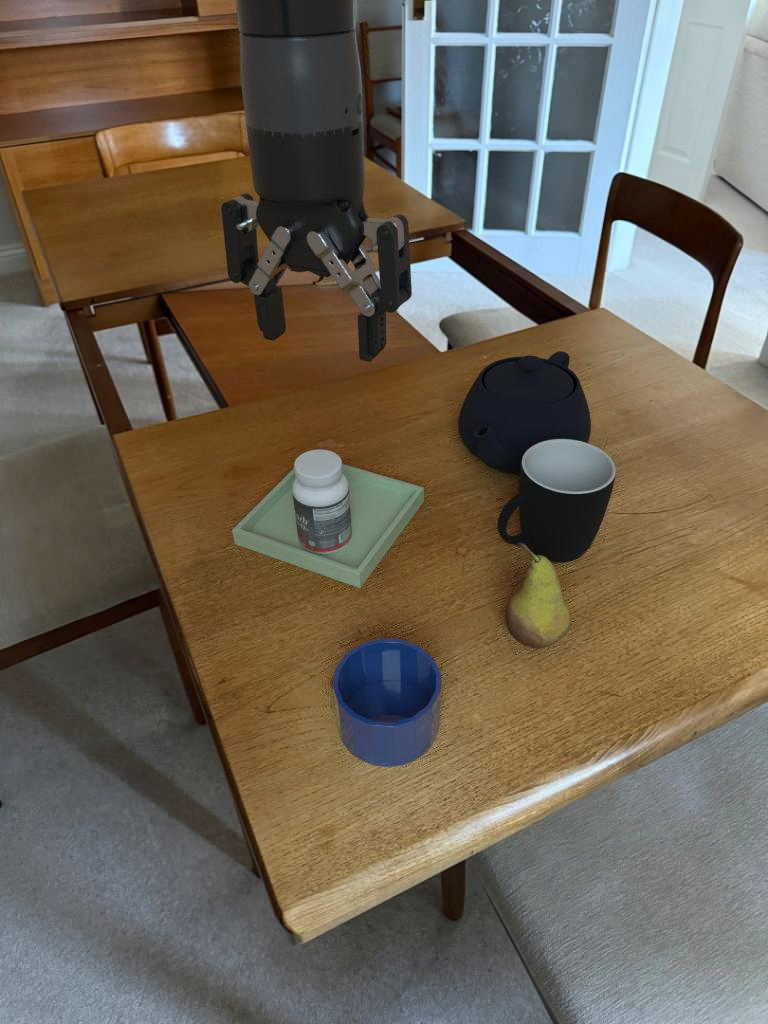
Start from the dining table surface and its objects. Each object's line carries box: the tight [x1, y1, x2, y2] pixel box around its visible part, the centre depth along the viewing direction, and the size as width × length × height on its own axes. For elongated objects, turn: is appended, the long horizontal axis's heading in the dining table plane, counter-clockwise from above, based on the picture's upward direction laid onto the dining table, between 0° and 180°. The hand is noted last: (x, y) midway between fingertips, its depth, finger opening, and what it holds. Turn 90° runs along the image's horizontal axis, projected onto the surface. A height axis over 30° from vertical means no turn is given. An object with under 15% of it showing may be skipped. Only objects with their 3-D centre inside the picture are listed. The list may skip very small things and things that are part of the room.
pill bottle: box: [292, 449, 352, 554], centre depth 75 cm, size 6×6×10 cm
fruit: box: [505, 542, 572, 649], centre depth 64 cm, size 6×6×12 cm
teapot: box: [457, 350, 592, 476], centre depth 86 cm, size 25×16×12 cm, turn 148°
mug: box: [496, 439, 617, 563], centre depth 74 cm, size 12×9×10 cm
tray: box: [231, 463, 425, 589], centre depth 80 cm, size 15×15×2 cm
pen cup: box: [332, 637, 442, 768], centre depth 60 cm, size 8×8×6 cm
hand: (321, 346), depth 58 cm, fingers open, 8 cm apart
